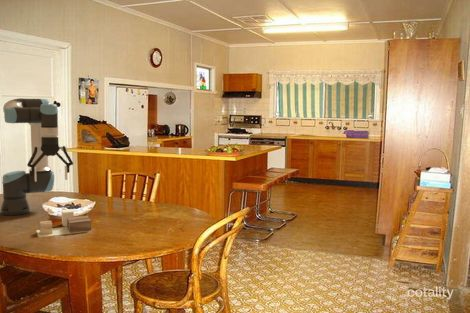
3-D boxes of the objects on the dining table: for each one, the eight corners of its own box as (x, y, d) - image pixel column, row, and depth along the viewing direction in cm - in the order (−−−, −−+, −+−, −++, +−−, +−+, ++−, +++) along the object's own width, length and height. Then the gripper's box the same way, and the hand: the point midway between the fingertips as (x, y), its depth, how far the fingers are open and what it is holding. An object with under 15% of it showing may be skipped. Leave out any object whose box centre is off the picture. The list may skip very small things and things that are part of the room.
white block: (62, 225, 222) (61, 210, 221) (72, 224, 224) (71, 209, 223) (63, 228, 217) (62, 212, 216) (73, 226, 220) (73, 211, 219)
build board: (36, 231, 210) (36, 230, 210) (87, 226, 221) (87, 224, 221) (38, 238, 200) (38, 237, 199) (91, 232, 211) (91, 230, 211)
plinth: (67, 227, 216) (66, 217, 215) (87, 225, 220) (87, 215, 220) (69, 232, 207) (69, 222, 206) (91, 230, 212) (91, 220, 211)
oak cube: (40, 231, 208) (39, 221, 207) (51, 230, 210) (51, 220, 209) (41, 234, 203) (40, 224, 203) (52, 233, 206) (52, 223, 205)
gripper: (20, 137, 196) (22, 183, 199) (78, 136, 208) (79, 179, 210) (20, 136, 203) (22, 180, 205) (76, 135, 214) (77, 177, 217)
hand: (51, 180), depth 208 cm, fingers open, 13 cm apart
